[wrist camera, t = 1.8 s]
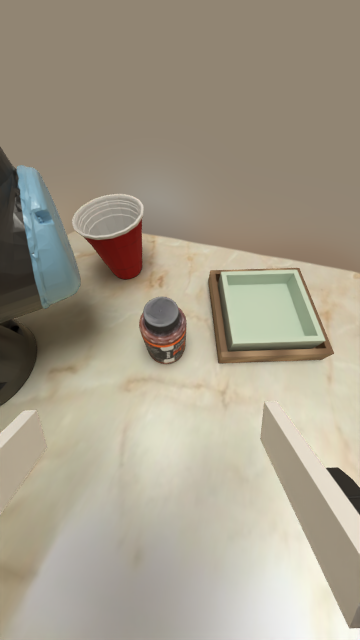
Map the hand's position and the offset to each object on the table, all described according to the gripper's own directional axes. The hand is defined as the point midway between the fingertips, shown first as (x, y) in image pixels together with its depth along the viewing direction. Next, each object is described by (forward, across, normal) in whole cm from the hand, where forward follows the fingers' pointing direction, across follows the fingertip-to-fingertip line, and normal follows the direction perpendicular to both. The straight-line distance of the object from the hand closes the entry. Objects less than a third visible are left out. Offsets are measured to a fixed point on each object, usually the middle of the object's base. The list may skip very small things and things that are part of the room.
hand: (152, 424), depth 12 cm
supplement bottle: (+20, 0, -4) cm, 21 cm away
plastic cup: (+32, -8, +8) cm, 34 cm away
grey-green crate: (+23, +16, 0) cm, 28 cm away
